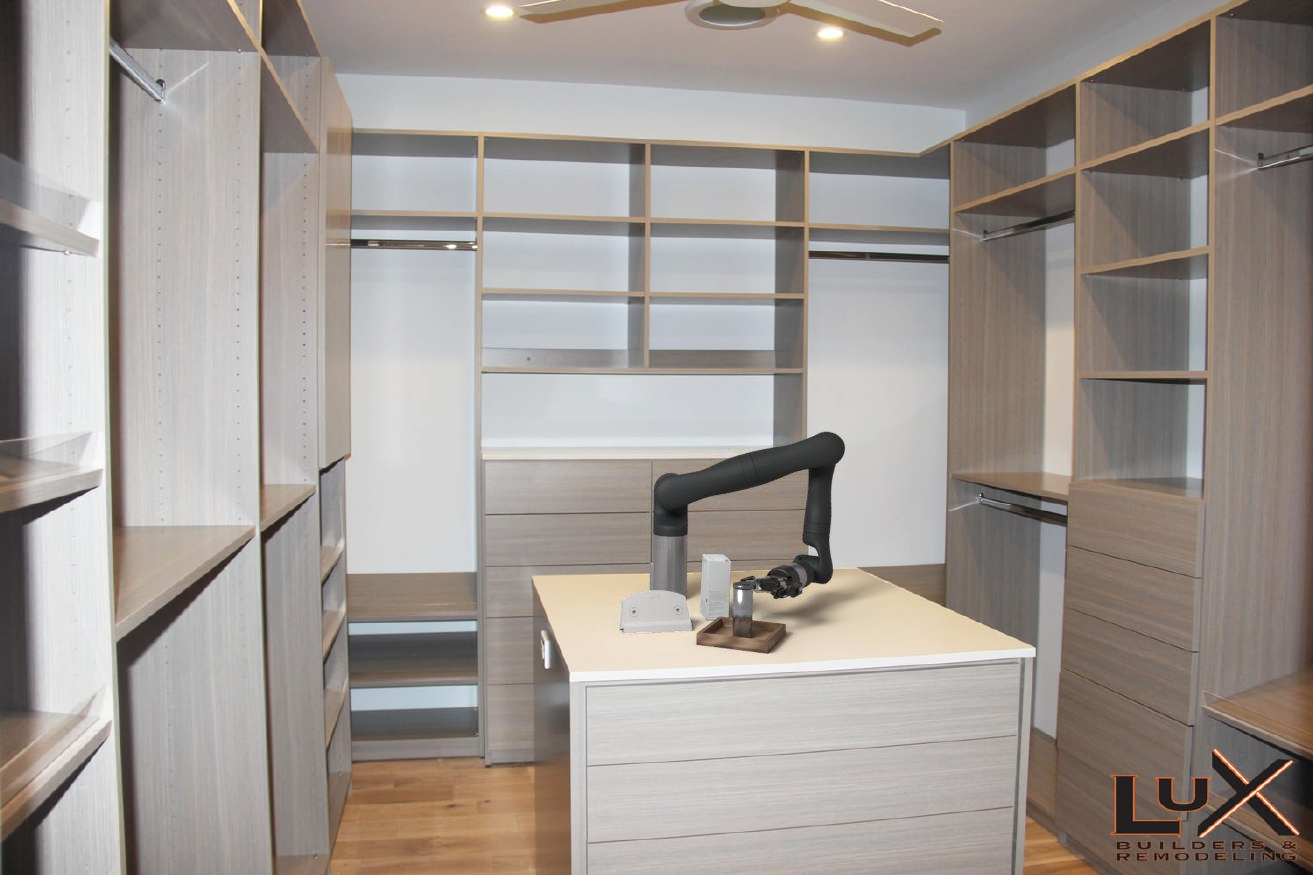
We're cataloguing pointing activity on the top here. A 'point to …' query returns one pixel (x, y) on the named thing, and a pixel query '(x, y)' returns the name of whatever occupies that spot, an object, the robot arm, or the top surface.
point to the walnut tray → (721, 636)
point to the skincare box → (715, 586)
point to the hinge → (655, 612)
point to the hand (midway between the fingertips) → (757, 592)
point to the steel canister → (742, 609)
